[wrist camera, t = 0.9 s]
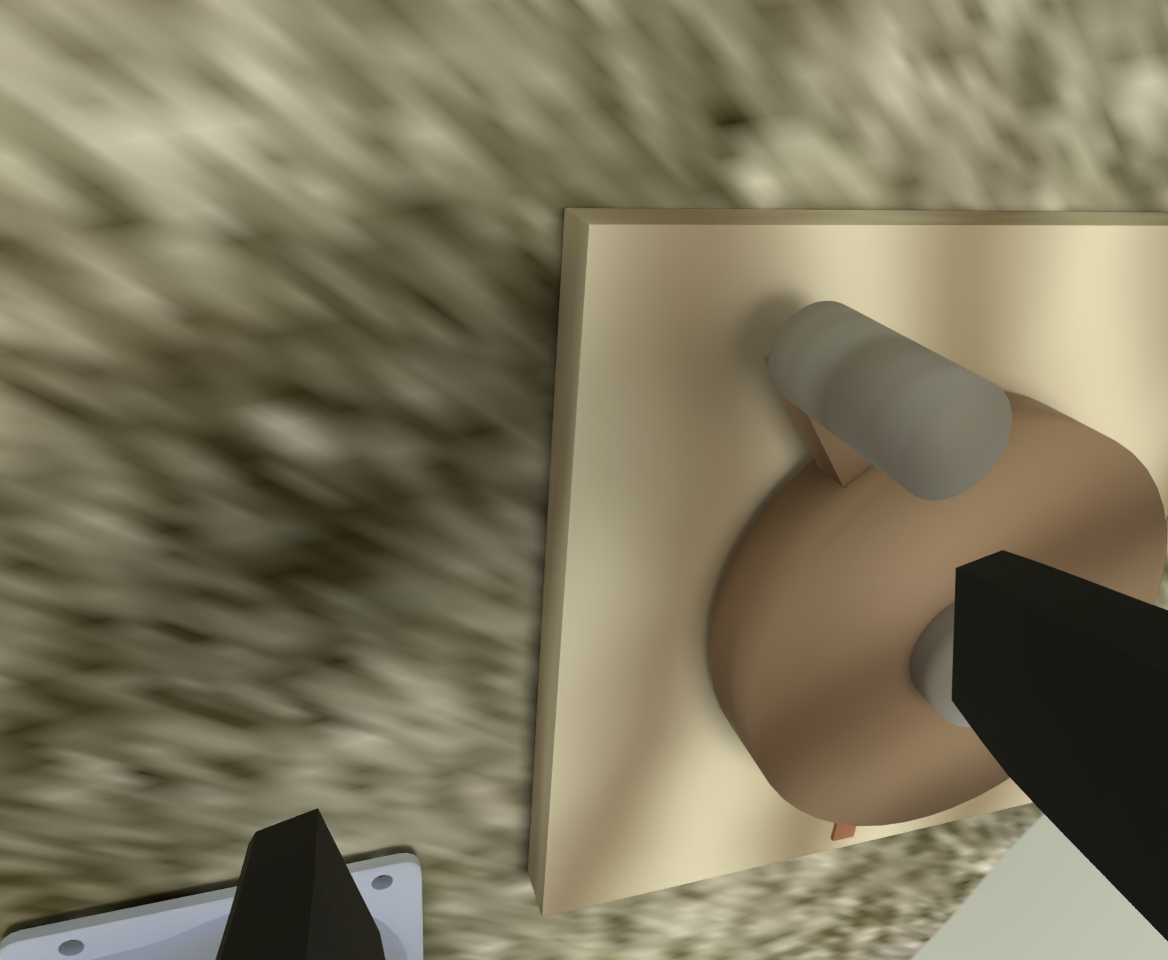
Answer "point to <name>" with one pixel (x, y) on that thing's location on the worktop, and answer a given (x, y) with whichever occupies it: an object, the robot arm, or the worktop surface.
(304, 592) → the worktop surface
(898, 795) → the crank dial
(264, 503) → the worktop surface
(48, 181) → the worktop surface
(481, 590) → the worktop surface
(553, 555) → the wooden cutting board
